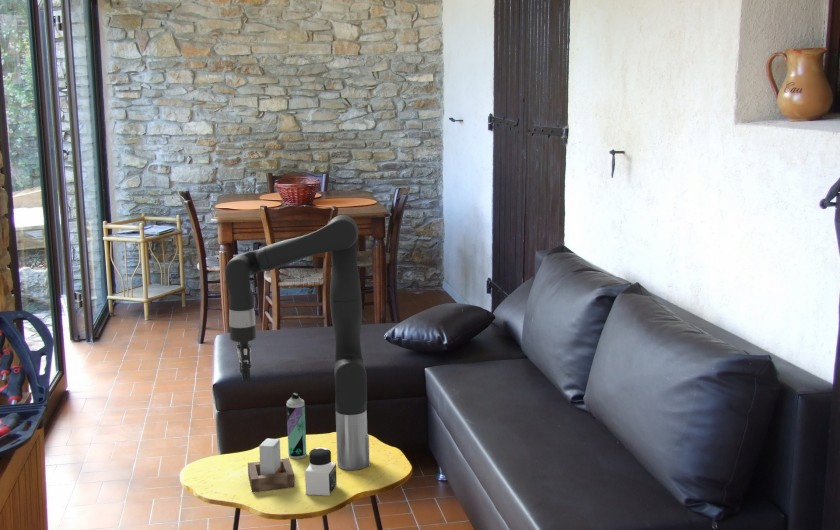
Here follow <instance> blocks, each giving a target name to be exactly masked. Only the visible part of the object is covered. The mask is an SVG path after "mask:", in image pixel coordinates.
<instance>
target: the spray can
mask: <svg viewBox="0 0 840 530" xmlns="http://www.w3.org/2000/svg"><path fill="white" fill-rule="evenodd" d="M305 406H306V405H305V400H304V399H303V398H300V396H299V393H297V392H293V393H292V395H291V397H290V398H289V399H288V400H286V427H287V446H288V447H287V449H288V458H289V459H295V460H296V459H299V460H300V459H303V458H306V456H307V435H306V409H305Z"/></svg>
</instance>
